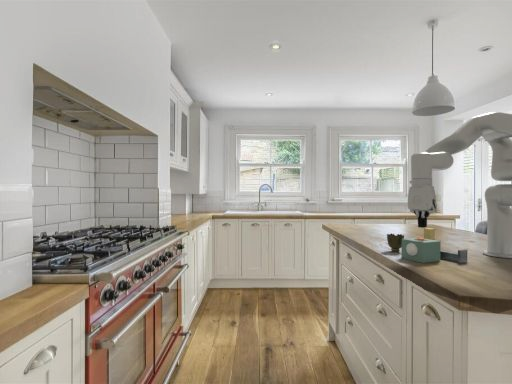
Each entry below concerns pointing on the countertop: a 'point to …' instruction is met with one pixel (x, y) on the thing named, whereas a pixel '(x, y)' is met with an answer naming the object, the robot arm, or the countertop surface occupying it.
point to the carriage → (429, 233)
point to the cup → (395, 241)
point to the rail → (454, 256)
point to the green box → (421, 250)
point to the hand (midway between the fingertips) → (422, 227)
